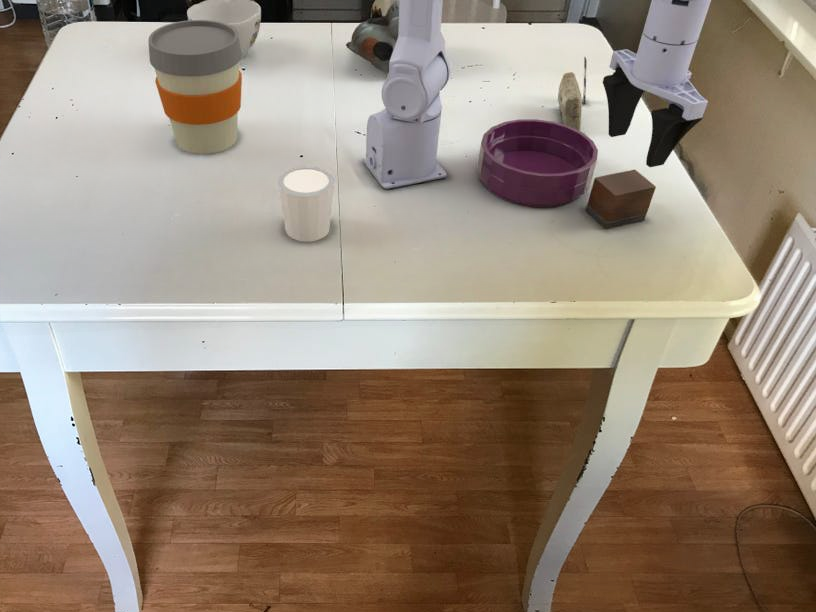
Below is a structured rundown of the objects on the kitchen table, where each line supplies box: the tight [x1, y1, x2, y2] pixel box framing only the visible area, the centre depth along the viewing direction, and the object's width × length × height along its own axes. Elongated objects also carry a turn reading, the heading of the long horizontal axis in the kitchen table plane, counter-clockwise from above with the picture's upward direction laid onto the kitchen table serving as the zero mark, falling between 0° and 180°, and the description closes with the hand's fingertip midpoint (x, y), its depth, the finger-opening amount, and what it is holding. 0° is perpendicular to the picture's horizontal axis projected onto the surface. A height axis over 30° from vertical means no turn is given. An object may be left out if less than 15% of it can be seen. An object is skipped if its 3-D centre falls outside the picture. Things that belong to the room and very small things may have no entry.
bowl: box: [476, 118, 599, 208], centre depth 102 cm, size 15×15×5 cm
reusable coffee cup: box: [148, 19, 243, 155], centre depth 106 cm, size 13×13×15 cm
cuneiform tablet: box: [557, 56, 587, 131], centre depth 115 cm, size 7×4×12 cm
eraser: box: [585, 169, 657, 230], centre depth 96 cm, size 6×4×5 cm
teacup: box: [186, 0, 262, 60], centre depth 129 cm, size 15×12×8 cm
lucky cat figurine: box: [345, 0, 400, 75], centre depth 127 cm, size 15×12×14 cm
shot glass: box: [277, 165, 335, 243], centre depth 93 cm, size 7×7×7 cm
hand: (635, 149), depth 91 cm, fingers open, 7 cm apart
